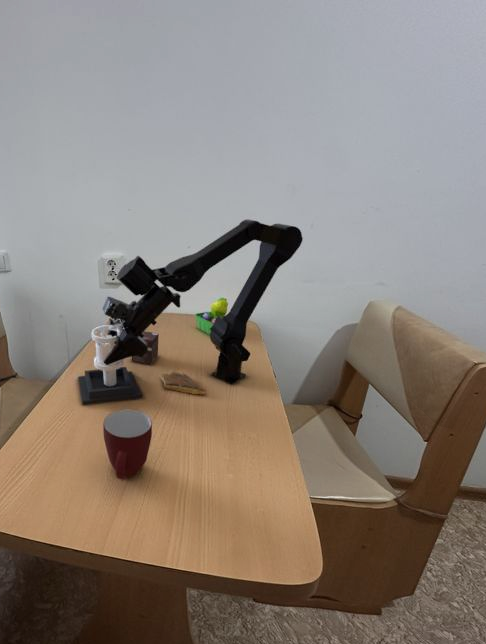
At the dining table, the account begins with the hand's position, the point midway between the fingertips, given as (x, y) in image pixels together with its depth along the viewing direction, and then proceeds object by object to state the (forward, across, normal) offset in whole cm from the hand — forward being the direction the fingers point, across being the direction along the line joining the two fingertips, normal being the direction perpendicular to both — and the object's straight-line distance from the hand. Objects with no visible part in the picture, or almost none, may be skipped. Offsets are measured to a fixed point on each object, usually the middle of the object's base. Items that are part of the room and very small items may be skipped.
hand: (102, 356), depth 87 cm
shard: (-7, +2, +20) cm, 22 cm away
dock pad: (+6, 0, +7) cm, 9 cm away
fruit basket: (-22, -31, +36) cm, 52 cm away
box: (-3, -14, +16) cm, 22 cm away
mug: (+6, +30, +6) cm, 31 cm away
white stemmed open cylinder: (+4, 0, +6) cm, 8 cm away
